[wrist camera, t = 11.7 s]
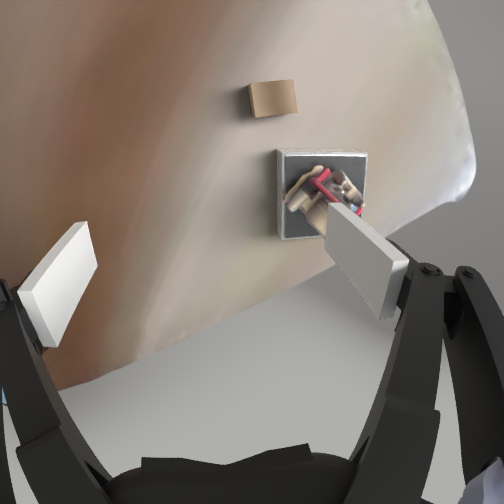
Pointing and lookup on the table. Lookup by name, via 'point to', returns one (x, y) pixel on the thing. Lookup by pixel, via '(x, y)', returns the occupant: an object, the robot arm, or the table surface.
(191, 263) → the table surface
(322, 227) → the brake caliper
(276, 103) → the brown rectangular block
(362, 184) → the stand
